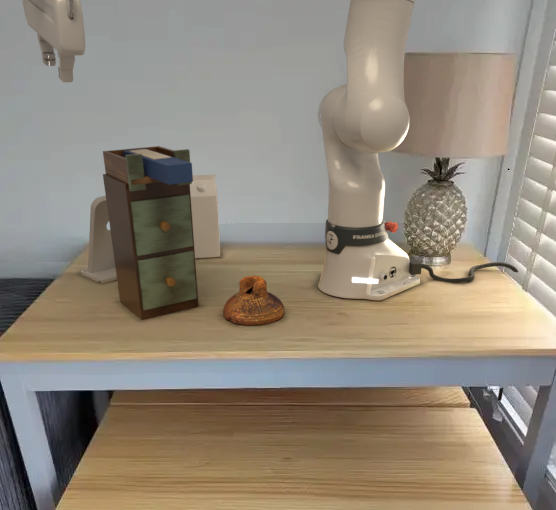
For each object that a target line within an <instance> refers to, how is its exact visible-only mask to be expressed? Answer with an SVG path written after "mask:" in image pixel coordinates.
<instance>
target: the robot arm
mask: <svg viewBox="0 0 556 510" xmlns="http://www.w3.org/2000/svg"><path fill="white" fill-rule="evenodd" d="M415 2H416V0H350V2H349V7H348V14H347V20H346V25H345V30H344V38H343V50H344V53H345V59H346V84H343V85H340V86H337V87H335V88H333V89H331V90H330V91H328V92H327V93H326V94H325V95H324V96H323V97H322V99H321V101H320V103H319V106H318V110H317V120H318V124H319V127H320V129H321V133H322V139H323V147H324V148H323V149H324V155H325V162H326V167H327V168H326V169H327V178H328V179H327V180H328V199H327V200H328V201H327V203H328V205H327V219H326V220H325V228H324V241H325V252H324V258H323V259H324V260H323V264H322V269H321V274H320V277H319V281H318V284H317V288H318V289H319V290H320V291H321V292H323V293H324V294H326V295H329V296H333V297H336V298H341V299H342V298H343V299H354V300H356V299H357V300H358V299H359V300H370V301H383V300H386V299H388V298H390V297H393V296H394V295H397V294H400V293H401V292H404V291H406V290H409V289H411V288H415V286H418V285H420V284H421V278H420V277H419V276H418V275H421V274H422V269H425V270H426V271H427V272H428V274H429V277H430V278H432V279H433V280H435V281H438V282H439V281H440V282H446V283H453V284H454V283H455V284H457V283H458V284H459V283H466V282H470V281H473V280H474V279H475V277H476V275H475V271H477V270H481V269H487V268H492V267H502V268H507V269H508V270H510V271H512V272H513V273H519V270H518V269H517V267H515V266H514V265H513V264H511V263H508V262H503V261H501V262H500V261H496V262H495V261H494V262H487V263H482V264H477V265H473V266H471V267H470V269H469V275H470V276H465V277H460V278H459V277H457V278H447V277H441V276H438V275H436V274H435V273H434V270H433V268H432V267H431V266H430V265H428V264H426V263H425V264H424V263H422V262H420V261H419V260H418V259H416V258H415V257H414V256H409V255H408V253H407V252H406V251H404V250H403V249H402V248H401V247H399V245H397V244H396V243H395V242H394V241H393V240H391V239H390V238H389V234H388V232H391V233H393V234H394V233H397V231H398V230H399V224H398V223H397V222H393V221H392V220H390V221H389V220H388V221H387V222H386V221H385V220H384V207H385V195H386V181H385V176H384V174H383V172H382V168H381V164H380V159H379V154H383V153H387V152H390V151H392V150H395V149H396V148H397V147H398V146H400V144H401V143H403V141H404V140H405V138H406V136H407V134H408V131H409V128H410V112H409V109H408V107H407V104H406V99H405V55H406V49H407V42H408V37H409V31H410V26H411V22H412V16H413V11H414V7H415ZM22 6H23V10H24V11H23V12H24V16H25V19H26V22H27V25H28V27H30V28H31V29H32V30H33V31H34V32H36V35H37V41H38V45H39V49H40V52H41V60H42V63H43V64H44V65H45V66H47V67H55V66H56V64H57V61H56V58H57V57H58V63H59V64H58V67H57V71H58V78H59V80H60V81H61V82H62V83H72V82H73V81H74V66H75V61H76V56H84V55H85V51H86V36H85V35H86V34H85V26H84V25H85V23H84V13H83V8H82V7H83V6H82V2H81V0H22ZM54 49H55V50H56V51H57V57H56V53H55V50H54ZM503 393H504V388H503V387H500V388H499V390H498V393H497V394H498V395H497V401H499V402H501V401H502V399H503Z"/></svg>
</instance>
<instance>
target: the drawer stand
mask: <svg viewBox="0 0 556 510" xmlns="http://www.w3.org/2000/svg"><path fill="white" fill-rule="evenodd" d="M134 149H148V150H152V151H155V152H158V153H161V154H165V155H168V156H171V157H174V158H177V159H181V160H184V161H187V162H190V163H191V155H190V153H191V152H190V149H188V148H186V149H170V148H166V147H164V146H160V145H155V146H146V147H133V148H124V149H123V148H122V149H112V150H111V149H110V150H103V151H102V156H103V163H104V171H105V173H102V178H103V179H102V180H103V185H104V186H103V187H104V193H105V196H106V201H107V209H108V216H109V222H108V224H109V230H110V231H111V238H112V245H113V253H114V260H115V267H116V275H117V280H116V282H117V288H118V295H119V297H118V298H119V303H121V304H122V305H124V306H125V307H126V308H127V309H128V310H129V311H130V312H132V314H134V315H135V316H136V317H138V318H139V319H140V320H141V321H143V320H147V319H151V318H155V317H156V318H157V317H160V316H165V315H169V314H173V313H177V312H181V311H186V310H191V309H194V308H198V307H199V305H200V304H199V294H198V292H199V291H198V281H197V279H198V277H197V267H196V266H197V265H196V264H197V263H196V258H195V250H194V236H193V222H192V209H191V195H190V184H192V182H187V183H179V184H171V185H168V184H165V183H163V182H160V181H158V180H155V179H153V178H150V177H148V176H145V175H144V168H143V159H142V154H132V155H125V158H124V156H123V150H134Z"/></svg>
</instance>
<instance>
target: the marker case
mask: <svg viewBox="0 0 556 510" xmlns="http://www.w3.org/2000/svg"><path fill="white" fill-rule="evenodd" d="M132 154H142V159H143V168H144V175H145V176H148V177H150V178H153V179H155V180H158V181H160V182H163V183H165V184H168V185H171V184H179V183H187V182H193V174H194V173H193V163H192V162H191V161H190V162H187V161H184V160H181V159H177V158H174V157H171V156H168V155H165V154H161V153H158V152H155V151H152V150H148V149H134V150H123V156H124V158H125V155H132Z"/></svg>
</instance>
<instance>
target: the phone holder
mask: <svg viewBox="0 0 556 510" xmlns="http://www.w3.org/2000/svg"><path fill="white" fill-rule="evenodd" d="M89 215H90V216H89V236H88V259H87V260H88V261H87V267H86V268H82V269H81V270H80V271H79V272H80V275H81V276H83V277H85V278H87V279H90V280H92V281H95V282H97V283H101V284H105V283H109V282H114V281H117V275H116V267H115V260H114V253H113V245H112V238H111V231H110V229H108V228H107V226H108V224H109V216H108V209H107V201H106V195H102V196H98V197H96V198H94V200H93V201H92V202H91V204H90V214H89Z"/></svg>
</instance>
